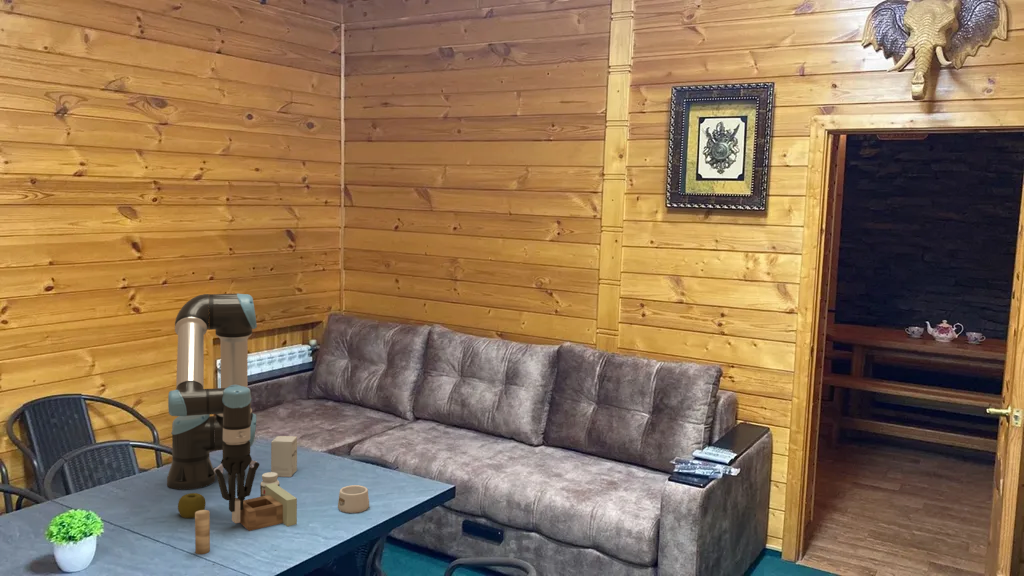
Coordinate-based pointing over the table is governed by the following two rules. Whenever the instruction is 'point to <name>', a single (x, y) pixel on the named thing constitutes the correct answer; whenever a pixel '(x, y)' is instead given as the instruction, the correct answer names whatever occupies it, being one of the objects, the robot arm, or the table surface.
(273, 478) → the pill bottle
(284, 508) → the board wall
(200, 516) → the dowel
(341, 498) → the beige pet bowl
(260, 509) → the block
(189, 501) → the apple
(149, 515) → the table surface
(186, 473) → the robot arm
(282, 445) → the supplement box
